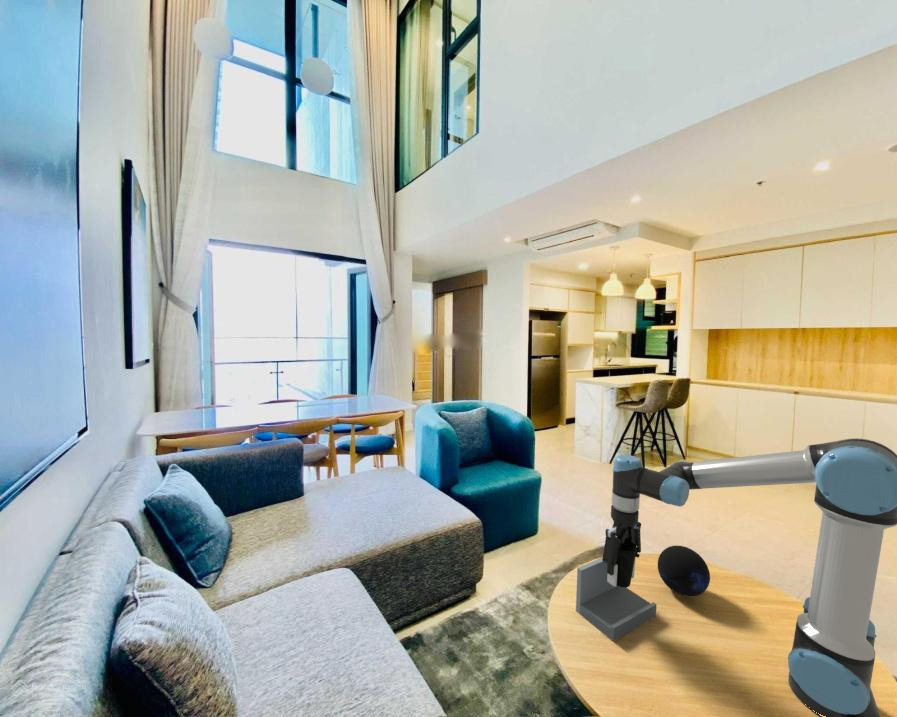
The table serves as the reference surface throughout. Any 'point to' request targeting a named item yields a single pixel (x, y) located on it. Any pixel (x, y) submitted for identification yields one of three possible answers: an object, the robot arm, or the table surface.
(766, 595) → the table surface
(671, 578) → the decorative sphere
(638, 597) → the shelf
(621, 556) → the cup
